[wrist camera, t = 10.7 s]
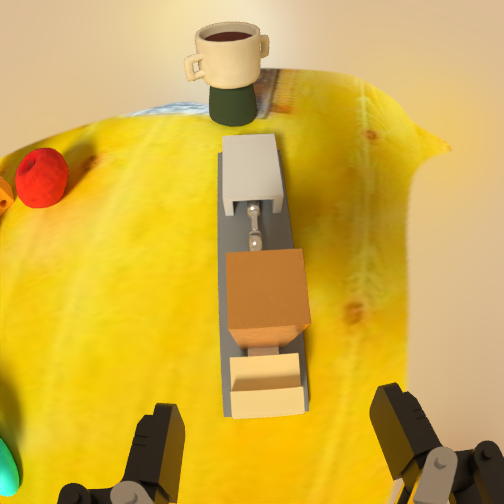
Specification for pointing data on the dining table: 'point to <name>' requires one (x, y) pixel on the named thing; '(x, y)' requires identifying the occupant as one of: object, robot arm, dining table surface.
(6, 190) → the pipe clamp
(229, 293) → the orange-brown upright block
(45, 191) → the apple
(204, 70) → the mug on green stand
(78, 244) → the dining table surface
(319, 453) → the dining table surface
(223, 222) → the board
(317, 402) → the dining table surface
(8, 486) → the donuts
